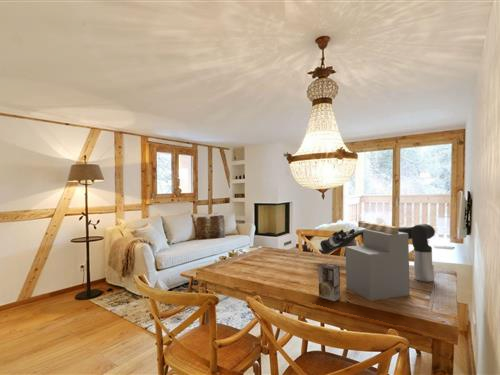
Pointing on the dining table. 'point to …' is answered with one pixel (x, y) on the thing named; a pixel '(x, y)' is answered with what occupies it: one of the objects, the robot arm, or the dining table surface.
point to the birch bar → (378, 227)
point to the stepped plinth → (379, 265)
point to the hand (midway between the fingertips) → (348, 230)
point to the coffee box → (329, 282)
